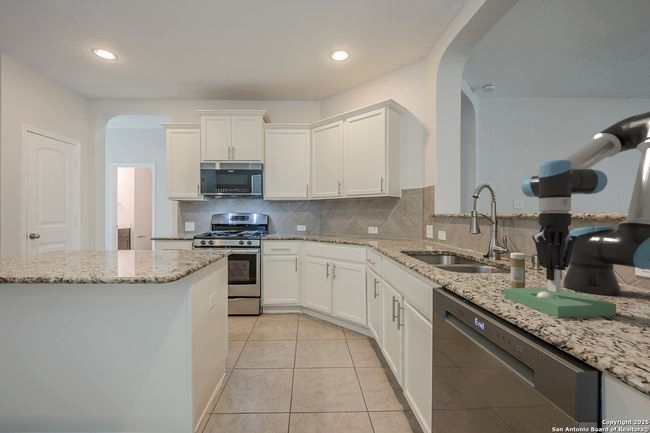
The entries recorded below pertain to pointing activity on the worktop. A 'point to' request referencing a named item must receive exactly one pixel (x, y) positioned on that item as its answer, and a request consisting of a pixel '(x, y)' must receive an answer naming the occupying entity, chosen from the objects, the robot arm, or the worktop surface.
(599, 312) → the putting board
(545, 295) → the ball
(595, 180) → the robot arm
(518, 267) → the sprinkles bottle
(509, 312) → the worktop surface
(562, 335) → the worktop surface
